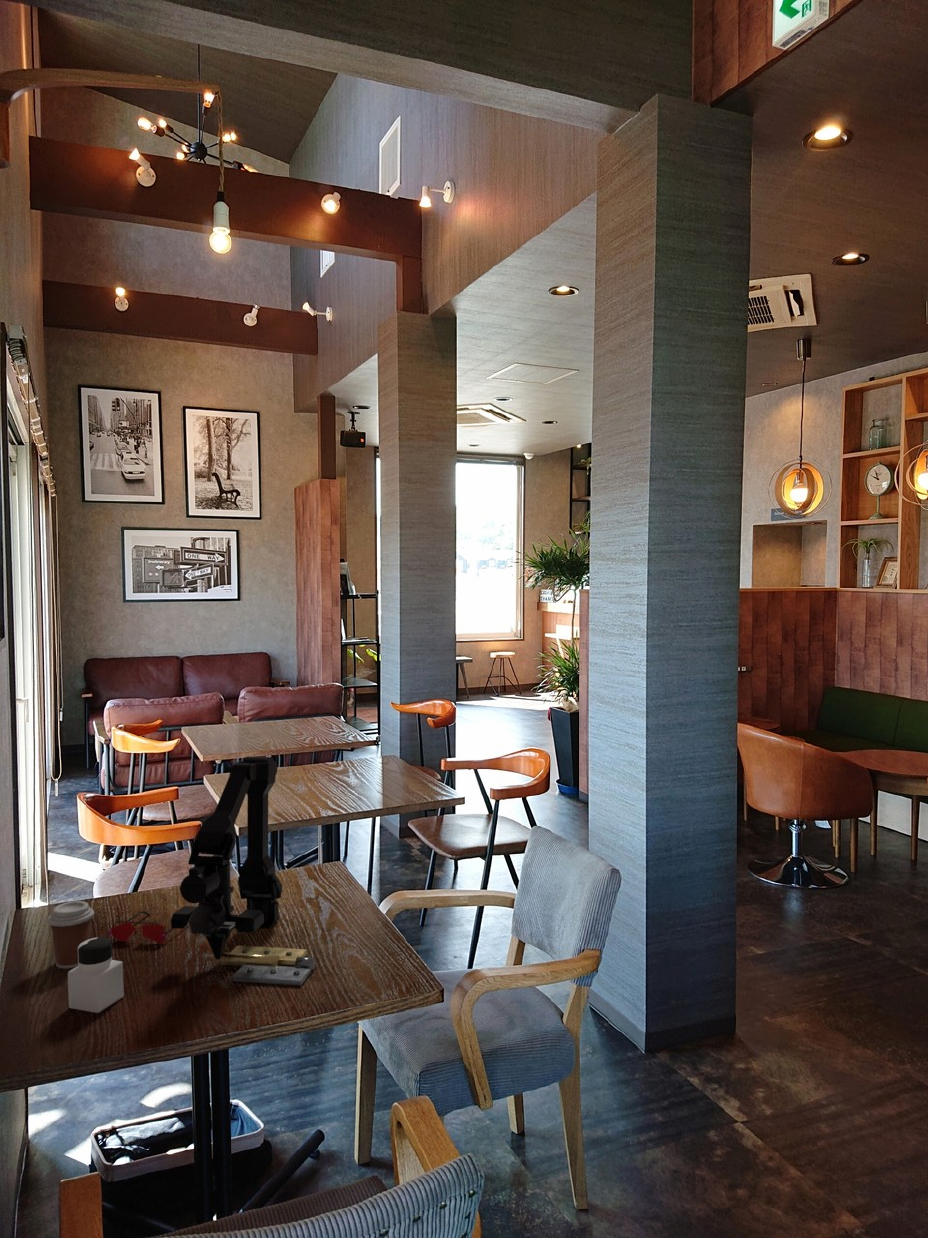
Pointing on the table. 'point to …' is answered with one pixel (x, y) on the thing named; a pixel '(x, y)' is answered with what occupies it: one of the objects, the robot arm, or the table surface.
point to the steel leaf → (276, 973)
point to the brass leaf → (261, 956)
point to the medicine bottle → (95, 977)
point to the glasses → (148, 931)
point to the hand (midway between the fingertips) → (218, 959)
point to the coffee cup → (70, 931)
